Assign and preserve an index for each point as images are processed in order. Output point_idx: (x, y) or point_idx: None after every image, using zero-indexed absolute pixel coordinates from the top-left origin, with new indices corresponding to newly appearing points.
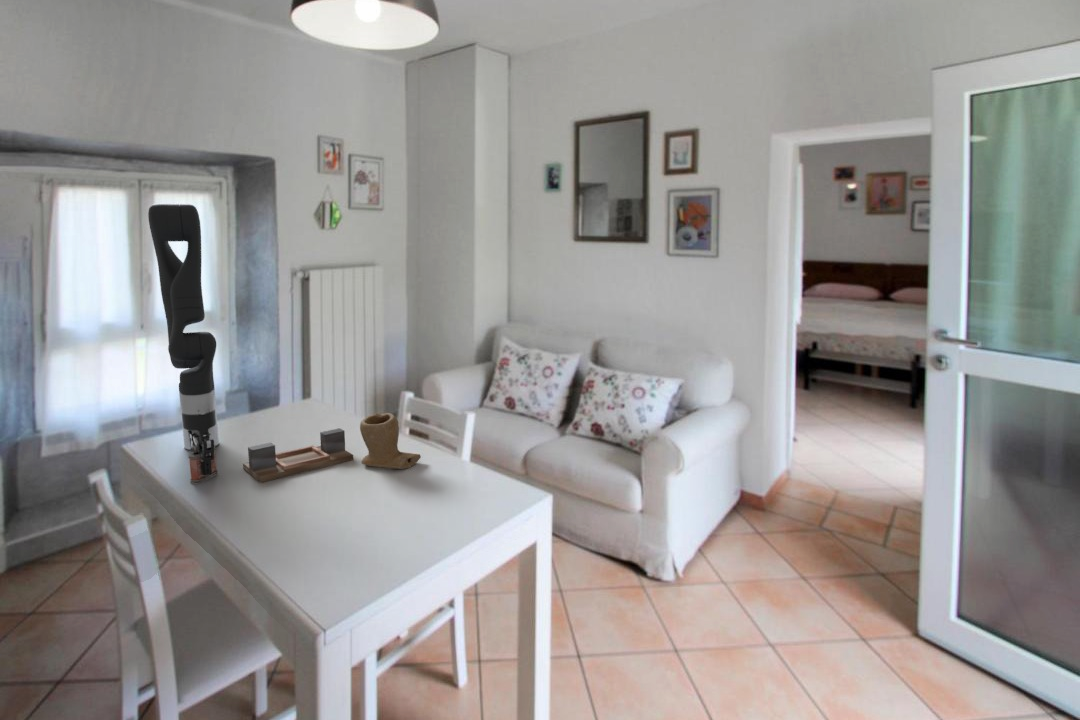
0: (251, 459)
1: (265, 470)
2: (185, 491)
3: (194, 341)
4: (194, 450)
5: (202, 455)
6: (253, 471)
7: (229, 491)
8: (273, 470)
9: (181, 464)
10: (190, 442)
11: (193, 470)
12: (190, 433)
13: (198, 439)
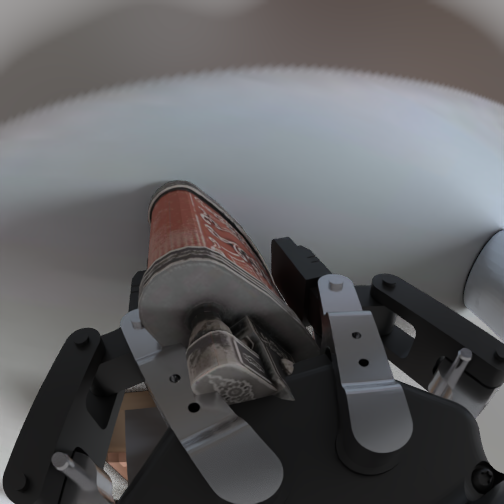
0: (139, 448)
1: (122, 430)
2: (67, 145)
3: None
4: (190, 346)
5: (81, 367)
6: (124, 410)
7: (7, 313)
8: (113, 440)
9: (430, 191)
10: (429, 309)
11: (154, 227)
12: (477, 362)
13: (204, 486)
